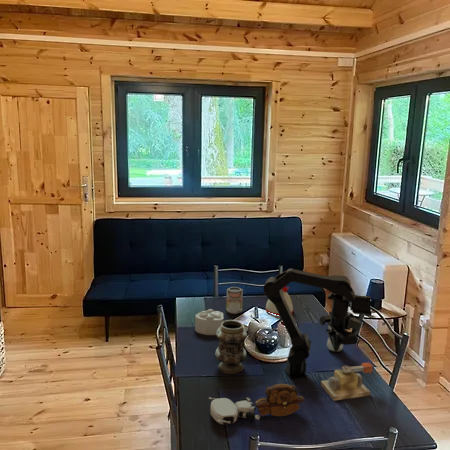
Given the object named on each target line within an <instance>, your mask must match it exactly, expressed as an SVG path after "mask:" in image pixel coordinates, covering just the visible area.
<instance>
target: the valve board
mask: <svg viewBox="0 0 450 450" xmlns="http://www.w3.org/2000/svg"><path fill="white" fill-rule="evenodd" d="M363 381H364V379H363V377H362V375H361V374H360V373H359V372H358V373H356V372H351V374H344V373H342V368H340V369H334V371H333V376H330V377H328V379H326V380H320V386H321V387H322V389H323V390H324V391H325V392H326V393H327V394H328V395H329V397H330V398H331V399H332V400H333V401H341V400H347V399H355V398H361V397H362V398H363V397H368V396H371V390H369V388H367V387H366V386H365V384H363V383H364V382H363Z"/></svg>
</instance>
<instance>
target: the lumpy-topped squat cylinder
mask: <svg viewBox="0 0 450 450" xmlns="http://www.w3.org/2000/svg"><path fill="white" fill-rule="evenodd" d="M224 317H225V316H224V313H223V312H222V311H219V310H214V309H212V308H209V309H207V310H202V311H200V312H198V313H196V314H195V319H194V320H195V321H194V322H195V323H194V324H195V326H194V328H195V329H194V330H195V332H197V333H198V334H201V335H205V336H217V335H216V332H217V330H218V329H219V328H220V327H221V323H222V322H224V321H225V318H224Z"/></svg>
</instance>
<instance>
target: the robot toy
mask: <svg viewBox="0 0 450 450" xmlns="http://www.w3.org/2000/svg"><path fill="white" fill-rule="evenodd" d="M208 399H209V400H211V402H210V408H209V409H210V416H211V417H212V418H213V419H214V421H216V422H217V423H218V424H220V425H228V424H234V423H235V422H236V421H237V419H238V418H243V419H248V420H251V421H255V420H260V418H261V415H259V414H256V412H255V411H256V409H257V407H256V405H255V404H254V403H253V402H252V400H251V398H249V397H243V398H241V399H240V400H239V401H235V402H233V401H232V400H231V399H229V398H226V397H221V398H215V397H214V398H213V397H208Z"/></svg>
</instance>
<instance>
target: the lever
mask: <svg viewBox="0 0 450 450" xmlns="http://www.w3.org/2000/svg"><path fill="white" fill-rule="evenodd" d="M341 369H342V373H344V374H351V372H355V373H356V372H358V373H359V372H362V373H364V374H369V373H370V374H371V373H373V370H374V369H373V364H371V362H362V363H361V364H360V365H356V366H355V365H354V366H349V365H342V366H341Z"/></svg>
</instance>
